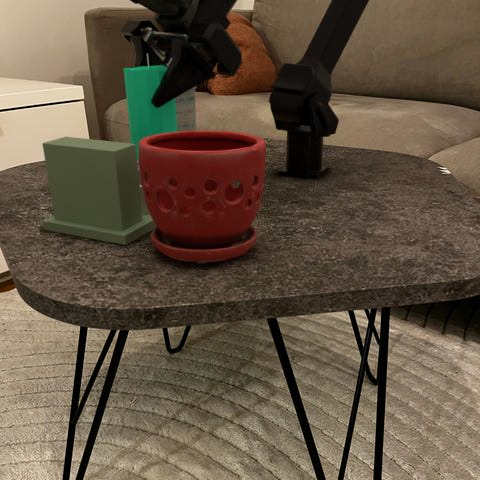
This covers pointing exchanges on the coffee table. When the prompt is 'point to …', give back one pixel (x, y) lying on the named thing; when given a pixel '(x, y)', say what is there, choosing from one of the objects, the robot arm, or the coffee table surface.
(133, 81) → the candle
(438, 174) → the coffee table surface
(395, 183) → the coffee table surface
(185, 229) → the flower pot
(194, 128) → the bottle
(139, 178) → the green tombstone shape
